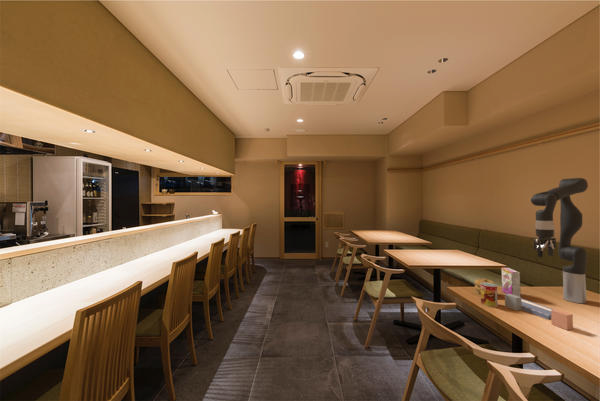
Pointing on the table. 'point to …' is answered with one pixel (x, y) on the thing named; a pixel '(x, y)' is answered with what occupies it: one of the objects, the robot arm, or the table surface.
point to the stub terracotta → (562, 319)
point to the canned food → (488, 294)
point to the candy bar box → (511, 281)
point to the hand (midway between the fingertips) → (545, 256)
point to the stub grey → (513, 302)
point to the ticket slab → (536, 309)
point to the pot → (478, 285)
